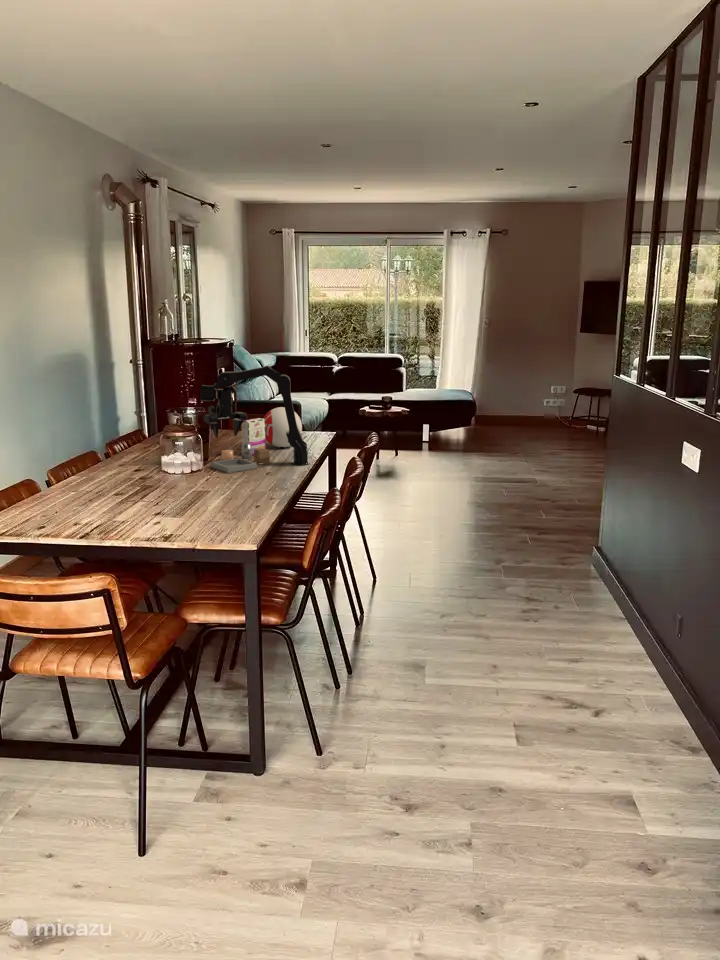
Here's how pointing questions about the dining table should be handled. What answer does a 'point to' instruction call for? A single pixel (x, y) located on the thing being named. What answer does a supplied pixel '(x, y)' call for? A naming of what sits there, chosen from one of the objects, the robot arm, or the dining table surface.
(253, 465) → the charcoal tray
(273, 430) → the decorative sphere
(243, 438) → the candy bar box
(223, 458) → the tan block
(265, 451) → the walnut block
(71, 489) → the dining table surface
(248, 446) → the steel cylinder
